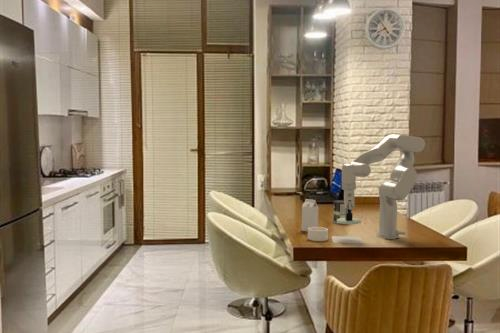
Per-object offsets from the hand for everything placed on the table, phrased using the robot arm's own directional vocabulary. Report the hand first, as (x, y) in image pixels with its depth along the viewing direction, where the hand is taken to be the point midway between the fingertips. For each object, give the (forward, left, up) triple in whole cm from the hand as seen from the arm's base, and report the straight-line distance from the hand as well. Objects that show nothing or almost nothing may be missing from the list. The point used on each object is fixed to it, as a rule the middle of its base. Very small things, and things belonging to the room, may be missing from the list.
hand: (348, 219), depth 270 cm
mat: (+1, 0, -12) cm, 12 cm away
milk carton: (+21, -23, -12) cm, 33 cm away
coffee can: (0, -54, -12) cm, 55 cm away
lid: (0, 0, -1) cm, 1 cm away
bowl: (+17, 0, -12) cm, 20 cm away
